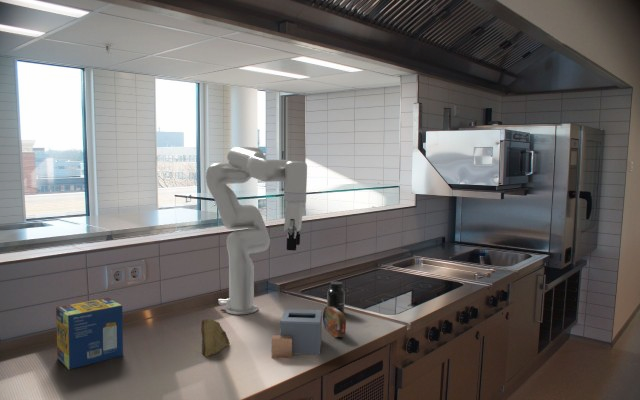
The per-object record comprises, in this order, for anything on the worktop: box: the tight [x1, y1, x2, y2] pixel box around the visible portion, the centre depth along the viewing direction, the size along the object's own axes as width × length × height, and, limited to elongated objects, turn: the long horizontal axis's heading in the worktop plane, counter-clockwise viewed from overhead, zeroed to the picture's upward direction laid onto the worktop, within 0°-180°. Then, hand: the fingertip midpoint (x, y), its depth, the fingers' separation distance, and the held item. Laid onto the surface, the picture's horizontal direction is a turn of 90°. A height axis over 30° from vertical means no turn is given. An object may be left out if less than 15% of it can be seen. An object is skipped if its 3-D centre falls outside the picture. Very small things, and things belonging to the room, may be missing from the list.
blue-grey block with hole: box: [279, 308, 323, 355], centre depth 151 cm, size 12×12×10 cm
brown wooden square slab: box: [271, 334, 293, 359], centre depth 143 cm, size 2×6×6 cm, turn 87°
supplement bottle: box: [326, 281, 346, 315], centre depth 185 cm, size 7×7×12 cm
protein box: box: [55, 297, 124, 371], centre depth 140 cm, size 10×15×16 cm
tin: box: [322, 305, 347, 338], centre depth 163 cm, size 15×3×8 cm, turn 21°
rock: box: [200, 318, 230, 358], centre depth 147 cm, size 11×9×10 cm
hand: (293, 247), depth 164 cm, fingers open, 9 cm apart
